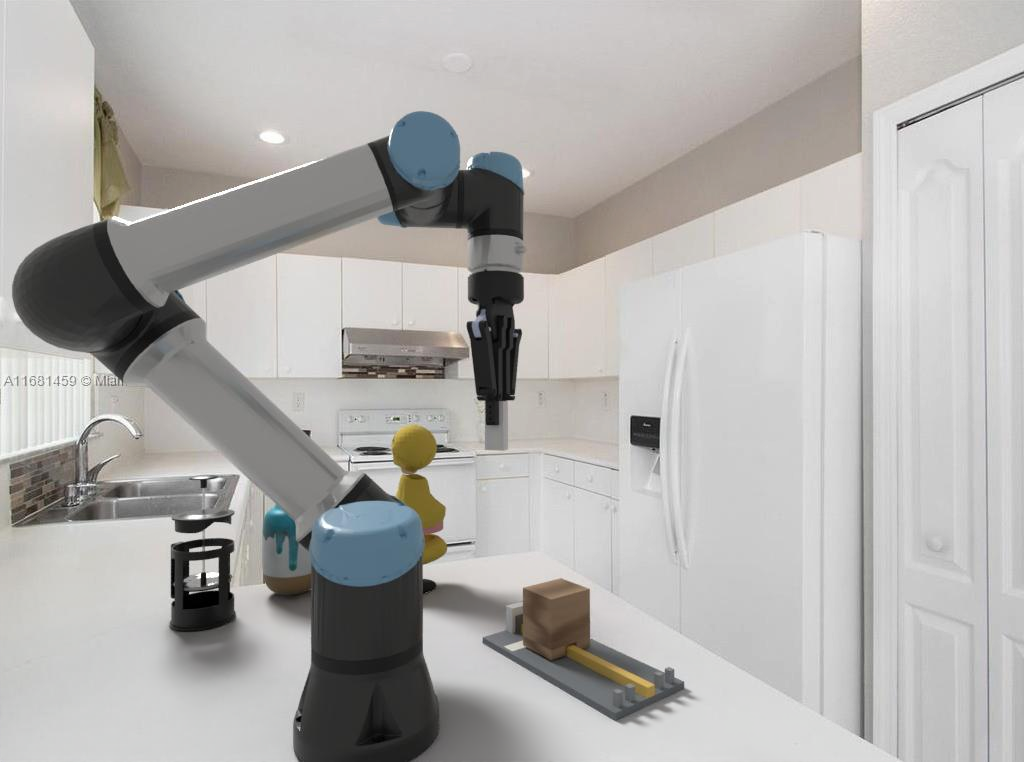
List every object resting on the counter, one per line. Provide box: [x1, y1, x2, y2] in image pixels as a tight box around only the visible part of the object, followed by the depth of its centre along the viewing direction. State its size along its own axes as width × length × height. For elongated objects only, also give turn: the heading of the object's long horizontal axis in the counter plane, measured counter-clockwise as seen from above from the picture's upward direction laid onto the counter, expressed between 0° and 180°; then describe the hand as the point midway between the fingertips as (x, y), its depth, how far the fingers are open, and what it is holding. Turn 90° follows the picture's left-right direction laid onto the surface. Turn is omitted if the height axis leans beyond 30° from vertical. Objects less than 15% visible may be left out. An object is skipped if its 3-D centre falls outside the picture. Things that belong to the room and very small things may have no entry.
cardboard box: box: [522, 577, 591, 660], centre depth 84 cm, size 6×7×8 cm
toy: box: [390, 424, 448, 595], centre depth 115 cm, size 16×12×30 cm
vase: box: [261, 503, 311, 596], centre depth 111 cm, size 11×11×19 cm
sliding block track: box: [482, 600, 685, 721], centre depth 81 cm, size 26×12×4 cm, turn 37°
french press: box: [169, 474, 237, 633], centre depth 97 cm, size 12×9×23 cm
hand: (496, 449), depth 82 cm, fingers closed
